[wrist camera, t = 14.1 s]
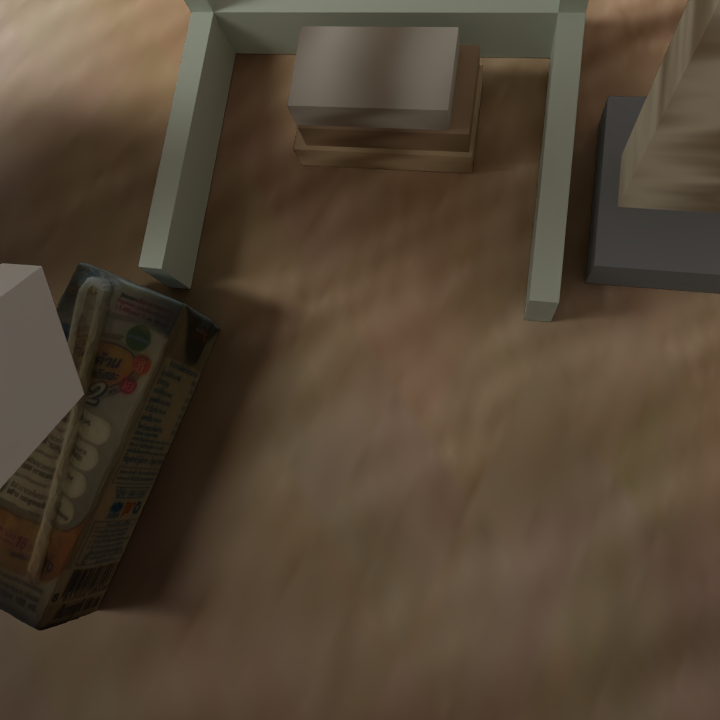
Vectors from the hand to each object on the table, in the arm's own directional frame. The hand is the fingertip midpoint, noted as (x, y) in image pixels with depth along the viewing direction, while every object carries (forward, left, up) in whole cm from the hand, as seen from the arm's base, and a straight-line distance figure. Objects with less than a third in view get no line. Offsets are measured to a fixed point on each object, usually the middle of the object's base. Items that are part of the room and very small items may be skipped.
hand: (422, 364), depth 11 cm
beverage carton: (-19, -9, -28) cm, 35 cm away
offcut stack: (-13, +17, -27) cm, 35 cm away
